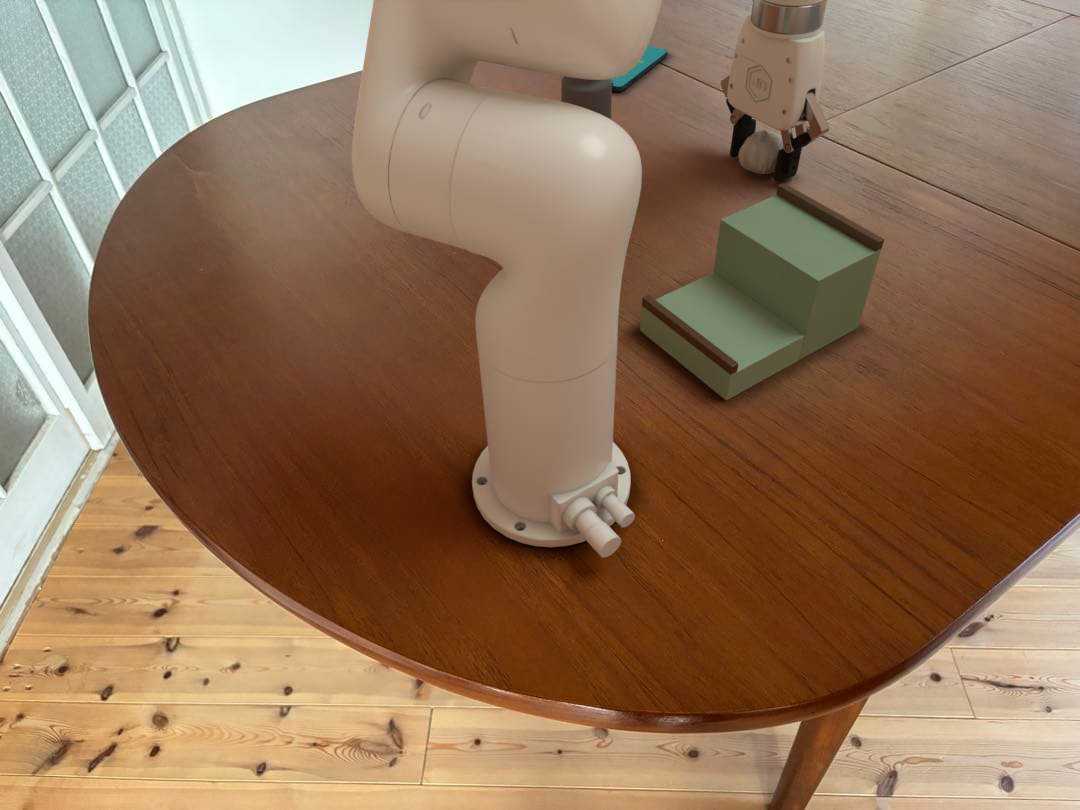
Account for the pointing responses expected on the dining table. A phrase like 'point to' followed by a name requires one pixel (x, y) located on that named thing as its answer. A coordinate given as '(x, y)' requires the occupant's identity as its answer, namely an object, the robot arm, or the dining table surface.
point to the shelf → (767, 293)
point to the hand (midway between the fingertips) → (762, 164)
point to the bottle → (588, 94)
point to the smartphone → (640, 68)
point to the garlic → (760, 152)
